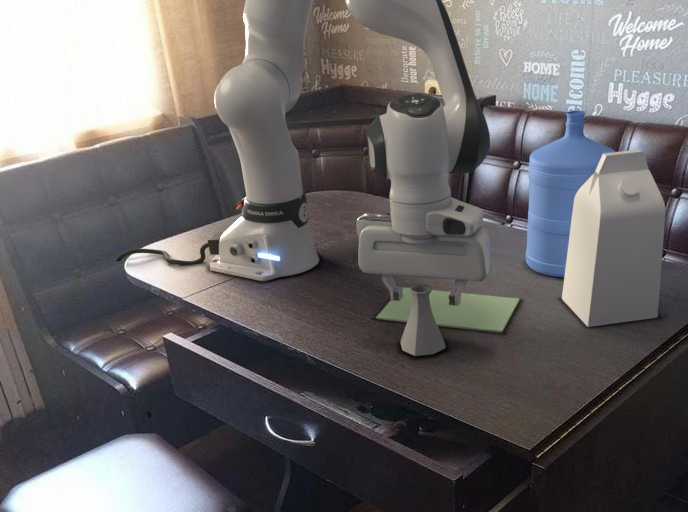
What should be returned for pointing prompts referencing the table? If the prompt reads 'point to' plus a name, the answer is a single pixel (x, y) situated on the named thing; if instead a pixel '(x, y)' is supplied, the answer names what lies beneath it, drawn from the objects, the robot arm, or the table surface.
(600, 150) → the water jug
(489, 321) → the placemat
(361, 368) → the table surface
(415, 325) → the flask
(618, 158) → the milk
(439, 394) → the table surface
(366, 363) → the table surface
